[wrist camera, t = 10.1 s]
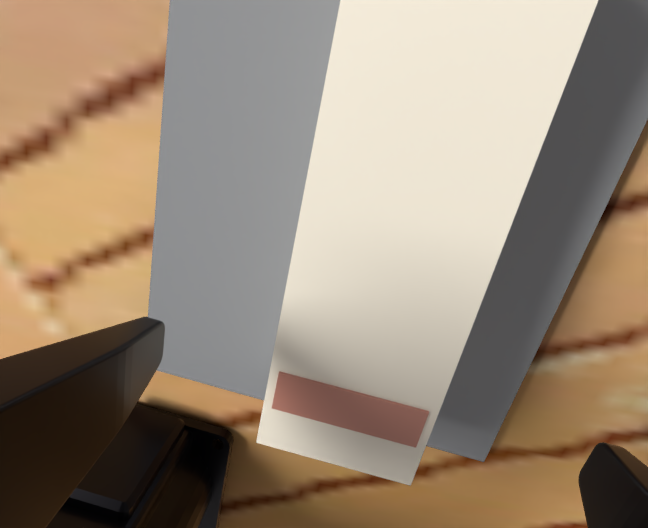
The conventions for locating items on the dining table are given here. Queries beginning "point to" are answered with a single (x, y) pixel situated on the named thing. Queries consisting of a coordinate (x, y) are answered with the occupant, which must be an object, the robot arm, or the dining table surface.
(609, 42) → the mat
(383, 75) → the white block
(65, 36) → the dining table surface
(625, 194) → the dining table surface
